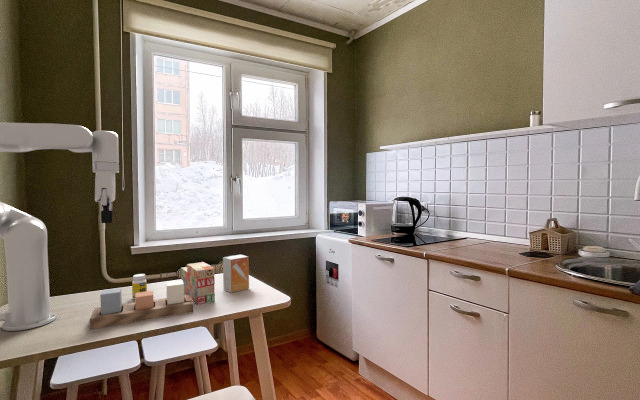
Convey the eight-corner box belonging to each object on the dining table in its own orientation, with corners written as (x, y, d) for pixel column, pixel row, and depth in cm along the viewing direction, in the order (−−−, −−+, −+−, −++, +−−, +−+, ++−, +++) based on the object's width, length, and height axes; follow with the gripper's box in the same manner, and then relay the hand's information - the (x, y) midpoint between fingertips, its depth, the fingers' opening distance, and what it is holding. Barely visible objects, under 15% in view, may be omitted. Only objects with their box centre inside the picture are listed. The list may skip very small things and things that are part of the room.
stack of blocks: (181, 290, 134) (180, 259, 134) (197, 287, 138) (196, 257, 137) (197, 305, 117) (196, 270, 116) (215, 301, 120) (214, 267, 120)
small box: (231, 293, 129) (230, 259, 129) (223, 289, 134) (222, 257, 134) (249, 288, 135) (249, 256, 135) (241, 285, 140) (240, 254, 139)
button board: (90, 329, 98) (89, 317, 97) (95, 317, 106) (94, 306, 106) (193, 312, 110) (193, 301, 110) (190, 303, 119) (190, 293, 119)
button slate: (101, 314, 101) (100, 294, 101) (103, 309, 105) (102, 290, 105) (120, 311, 103) (119, 292, 103) (121, 306, 107) (121, 287, 107)
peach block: (135, 316, 105) (135, 297, 105) (136, 311, 109) (135, 292, 109) (153, 313, 107) (153, 294, 107) (153, 308, 112) (153, 290, 111)
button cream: (167, 304, 109) (166, 286, 109) (166, 300, 113) (166, 282, 113) (184, 302, 111) (183, 283, 111) (182, 297, 115) (182, 280, 115)
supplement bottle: (140, 300, 123) (140, 277, 123) (129, 299, 124) (128, 276, 124) (149, 296, 128) (149, 273, 127) (138, 295, 129) (138, 273, 128)
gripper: (96, 169, 120) (97, 221, 120) (88, 166, 106) (89, 225, 107) (121, 169, 123) (122, 220, 123) (116, 167, 109) (117, 224, 110)
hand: (107, 222), depth 115 cm, fingers closed
